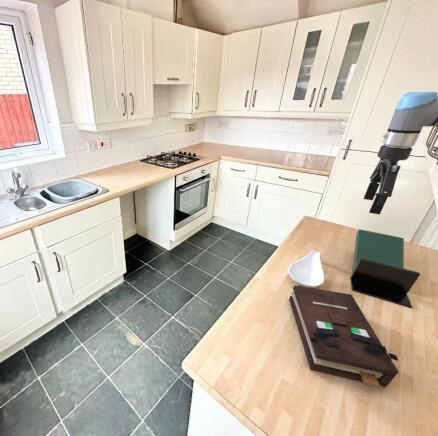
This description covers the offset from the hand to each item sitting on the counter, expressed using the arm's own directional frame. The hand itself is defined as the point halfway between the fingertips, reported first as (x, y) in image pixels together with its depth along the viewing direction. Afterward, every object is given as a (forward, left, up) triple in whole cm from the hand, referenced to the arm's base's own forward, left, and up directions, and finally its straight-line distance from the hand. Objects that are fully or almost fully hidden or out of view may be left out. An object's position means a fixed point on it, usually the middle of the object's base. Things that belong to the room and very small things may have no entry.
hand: (370, 206), depth 87 cm
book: (-10, -5, -23) cm, 25 cm away
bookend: (-10, +11, -28) cm, 32 cm away
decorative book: (+6, +41, -28) cm, 50 cm away
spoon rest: (+13, +12, -28) cm, 33 cm away
